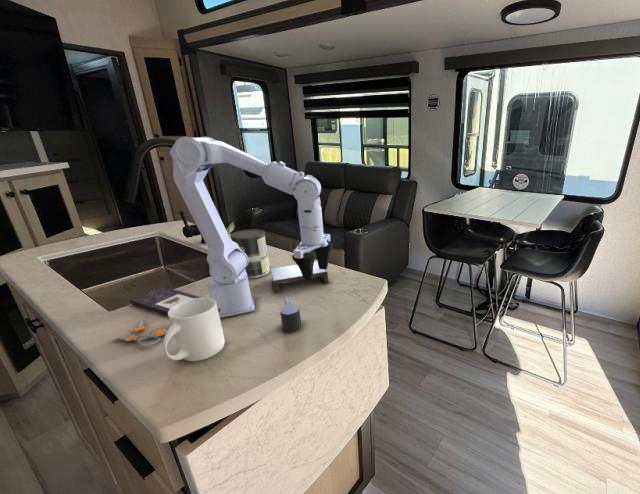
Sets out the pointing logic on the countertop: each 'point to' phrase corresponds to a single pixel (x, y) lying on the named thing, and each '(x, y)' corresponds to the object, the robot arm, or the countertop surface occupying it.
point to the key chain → (140, 338)
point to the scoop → (290, 317)
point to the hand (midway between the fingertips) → (316, 274)
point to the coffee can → (253, 251)
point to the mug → (195, 330)
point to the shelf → (294, 274)
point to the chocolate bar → (162, 299)
